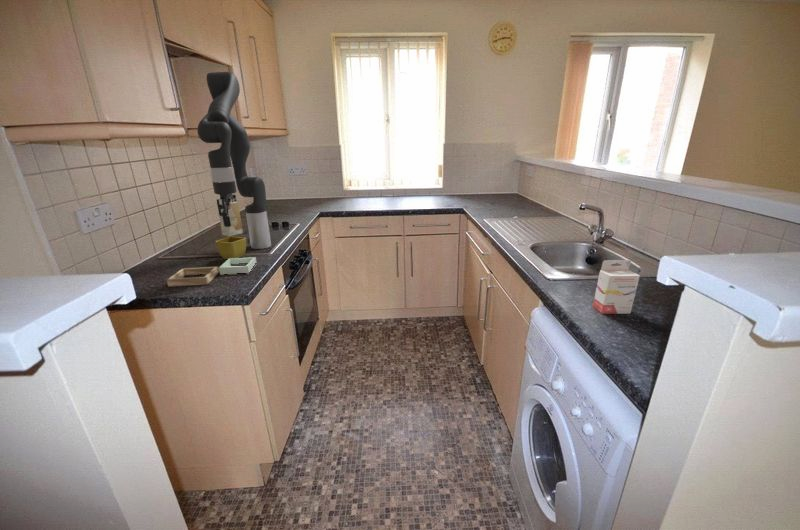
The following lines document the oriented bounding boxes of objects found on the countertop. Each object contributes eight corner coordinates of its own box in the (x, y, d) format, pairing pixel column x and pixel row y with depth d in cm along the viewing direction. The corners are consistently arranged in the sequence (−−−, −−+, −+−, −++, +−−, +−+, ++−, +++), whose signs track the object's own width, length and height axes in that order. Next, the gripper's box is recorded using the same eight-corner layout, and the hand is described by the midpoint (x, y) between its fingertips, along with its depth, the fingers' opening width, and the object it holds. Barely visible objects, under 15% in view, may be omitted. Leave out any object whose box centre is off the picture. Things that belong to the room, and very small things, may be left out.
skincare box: (229, 236, 128) (223, 204, 124) (222, 235, 130) (215, 203, 126) (243, 232, 134) (238, 201, 130) (236, 231, 136) (230, 200, 132)
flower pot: (249, 257, 152) (246, 237, 149) (235, 263, 144) (232, 242, 141) (233, 255, 154) (229, 236, 151) (218, 261, 146) (214, 241, 143)
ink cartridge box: (602, 314, 96) (612, 265, 92) (592, 306, 101) (601, 259, 96) (631, 313, 97) (643, 264, 92) (620, 306, 101) (630, 259, 96)
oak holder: (183, 274, 131) (182, 268, 130) (219, 272, 133) (218, 266, 132) (168, 286, 120) (166, 279, 119) (207, 284, 122) (206, 277, 121)
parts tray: (229, 265, 141) (228, 258, 140) (256, 263, 143) (255, 257, 142) (220, 274, 130) (218, 267, 130) (249, 273, 132) (247, 266, 131)
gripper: (219, 178, 132) (227, 220, 137) (204, 182, 118) (214, 228, 124) (240, 178, 133) (246, 220, 138) (227, 181, 119) (235, 227, 125)
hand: (231, 224), depth 131 cm, fingers closed on skincare box, 7 cm apart
